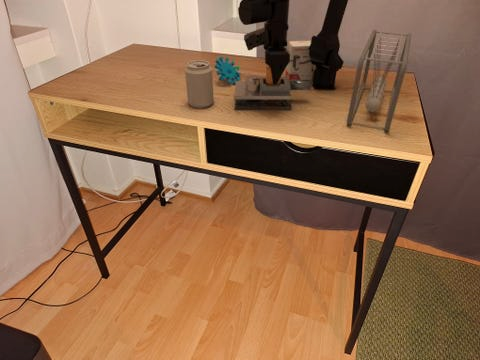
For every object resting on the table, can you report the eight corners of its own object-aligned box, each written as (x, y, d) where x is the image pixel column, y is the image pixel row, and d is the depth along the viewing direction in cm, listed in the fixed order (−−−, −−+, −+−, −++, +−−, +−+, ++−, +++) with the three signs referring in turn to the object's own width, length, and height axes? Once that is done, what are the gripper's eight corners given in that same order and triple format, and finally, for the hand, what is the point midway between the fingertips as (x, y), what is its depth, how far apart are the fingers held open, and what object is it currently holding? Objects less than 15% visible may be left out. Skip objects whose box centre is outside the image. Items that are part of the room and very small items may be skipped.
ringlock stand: (305, 93, 110) (308, 70, 106) (311, 110, 100) (314, 86, 96) (236, 92, 110) (235, 70, 106) (234, 109, 101) (234, 86, 97)
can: (203, 111, 100) (200, 69, 93) (182, 105, 103) (178, 64, 96) (218, 102, 105) (217, 61, 98) (198, 96, 108) (195, 56, 101)
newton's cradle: (361, 86, 115) (373, 27, 104) (396, 91, 111) (412, 31, 101) (345, 127, 92) (358, 58, 82) (387, 135, 89) (407, 64, 79)
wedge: (278, 96, 106) (280, 66, 100) (279, 99, 104) (281, 68, 99) (265, 96, 106) (266, 66, 100) (265, 99, 104) (266, 68, 99)
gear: (226, 84, 111) (211, 56, 111) (216, 94, 116) (201, 67, 116) (249, 79, 119) (235, 53, 119) (238, 89, 123) (225, 63, 123)
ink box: (288, 82, 117) (291, 45, 110) (284, 77, 121) (287, 41, 114) (313, 81, 118) (318, 44, 111) (309, 76, 122) (313, 40, 115)
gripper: (246, 11, 99) (245, 66, 109) (245, 28, 85) (245, 91, 94) (286, 11, 99) (282, 66, 109) (292, 28, 84) (287, 91, 94)
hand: (273, 78), depth 101 cm, fingers open, 9 cm apart
